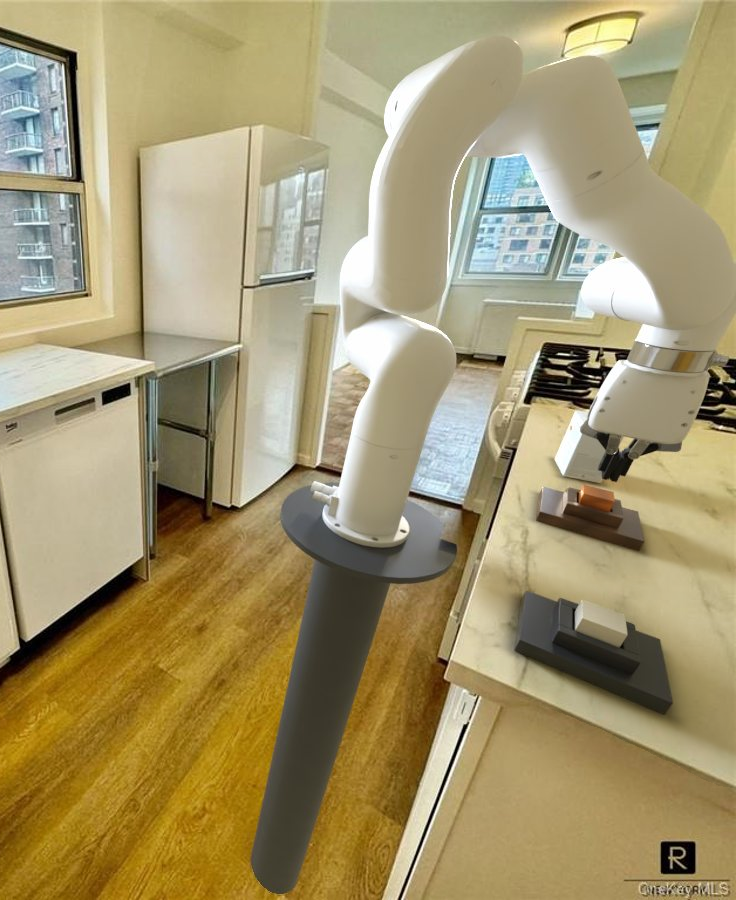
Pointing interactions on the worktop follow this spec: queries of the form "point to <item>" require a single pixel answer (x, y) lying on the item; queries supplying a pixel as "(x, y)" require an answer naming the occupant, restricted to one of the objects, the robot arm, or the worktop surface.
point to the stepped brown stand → (590, 518)
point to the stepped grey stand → (593, 652)
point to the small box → (580, 452)
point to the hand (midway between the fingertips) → (608, 476)
